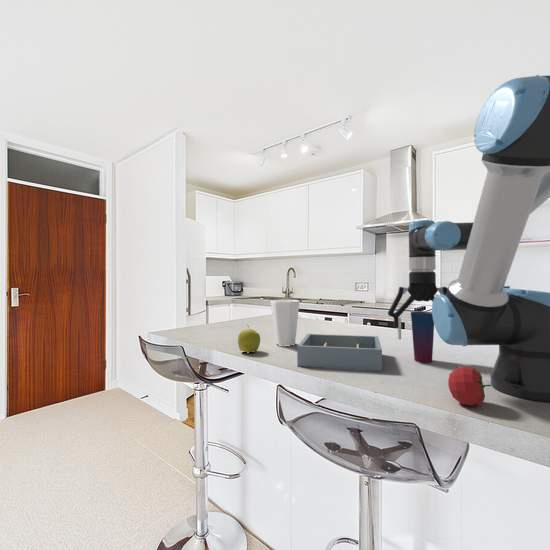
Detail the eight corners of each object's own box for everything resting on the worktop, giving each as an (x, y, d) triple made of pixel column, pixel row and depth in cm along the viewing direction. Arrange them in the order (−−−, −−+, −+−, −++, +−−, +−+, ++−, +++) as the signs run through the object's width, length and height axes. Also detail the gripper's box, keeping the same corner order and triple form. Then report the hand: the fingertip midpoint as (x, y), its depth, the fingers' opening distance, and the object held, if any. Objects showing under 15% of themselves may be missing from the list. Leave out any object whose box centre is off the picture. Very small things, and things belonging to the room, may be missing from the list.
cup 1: (303, 346, 124) (303, 301, 124) (278, 349, 120) (278, 302, 120) (291, 341, 134) (290, 299, 134) (268, 343, 130) (267, 300, 130)
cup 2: (438, 364, 98) (437, 313, 98) (413, 363, 99) (413, 313, 99) (432, 358, 104) (431, 311, 104) (409, 357, 106) (408, 311, 106)
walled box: (382, 371, 92) (381, 349, 91) (297, 366, 98) (297, 346, 98) (378, 354, 111) (378, 336, 111) (307, 350, 117) (307, 333, 117)
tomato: (443, 360, 70) (484, 358, 66) (452, 375, 75) (492, 375, 70) (445, 396, 66) (489, 398, 61) (455, 411, 70) (497, 413, 66)
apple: (233, 352, 112) (236, 322, 115) (240, 353, 119) (243, 326, 122) (255, 353, 110) (257, 323, 113) (261, 354, 117) (263, 327, 120)
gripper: (463, 270, 102) (463, 338, 102) (379, 271, 108) (379, 335, 109) (471, 270, 95) (471, 343, 95) (380, 271, 101) (381, 340, 102)
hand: (422, 339), depth 102 cm, fingers open, 13 cm apart
